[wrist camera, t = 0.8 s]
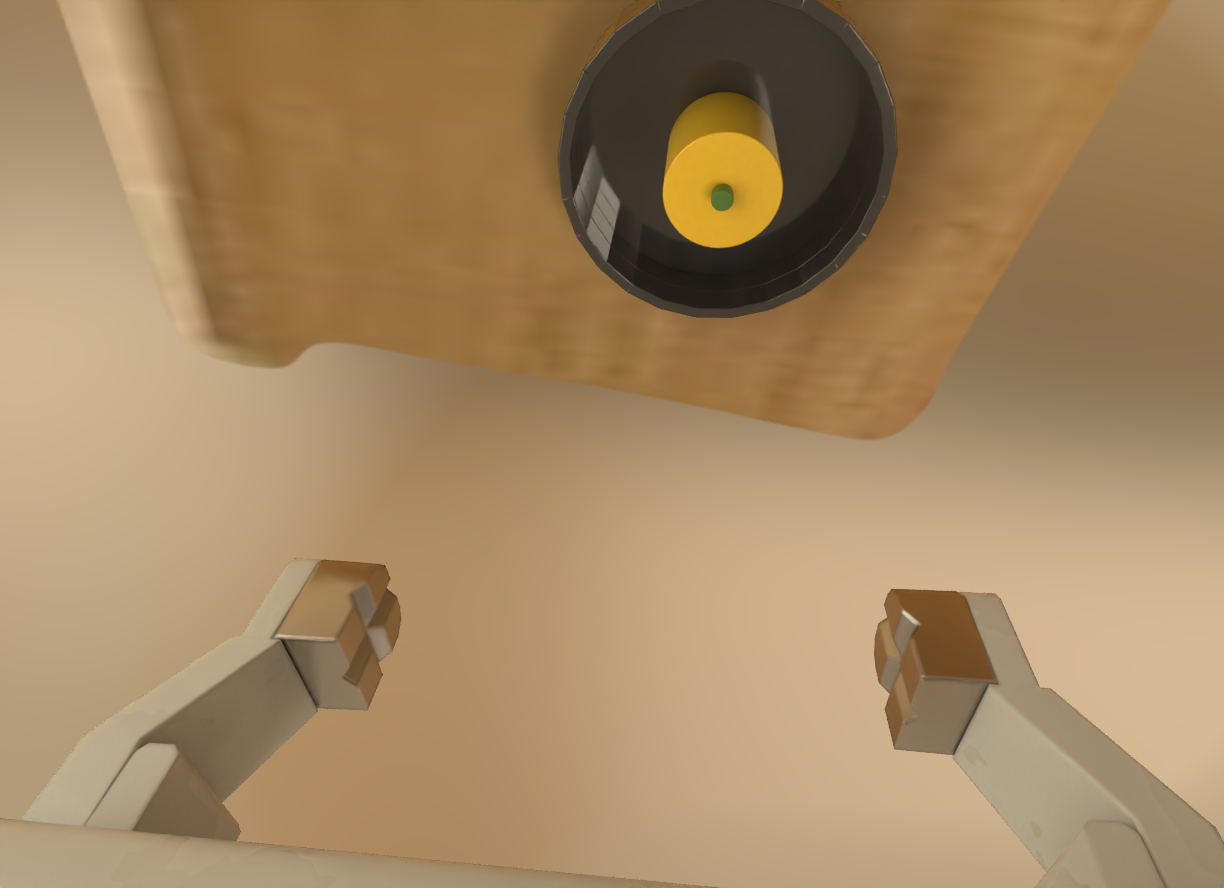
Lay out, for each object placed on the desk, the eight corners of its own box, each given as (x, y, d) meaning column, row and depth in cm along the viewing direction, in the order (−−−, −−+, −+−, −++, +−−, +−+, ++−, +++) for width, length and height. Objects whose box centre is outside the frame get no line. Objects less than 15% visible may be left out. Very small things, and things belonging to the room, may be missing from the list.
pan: (555, -28, 31) (539, -10, 29) (915, -45, 30) (937, -28, 27) (583, 280, 42) (574, 316, 39) (850, 281, 40) (861, 319, 37)
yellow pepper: (668, 92, 34) (661, 139, 29) (780, 89, 34) (791, 137, 29) (668, 199, 38) (661, 256, 33) (769, 198, 37) (777, 256, 33)
